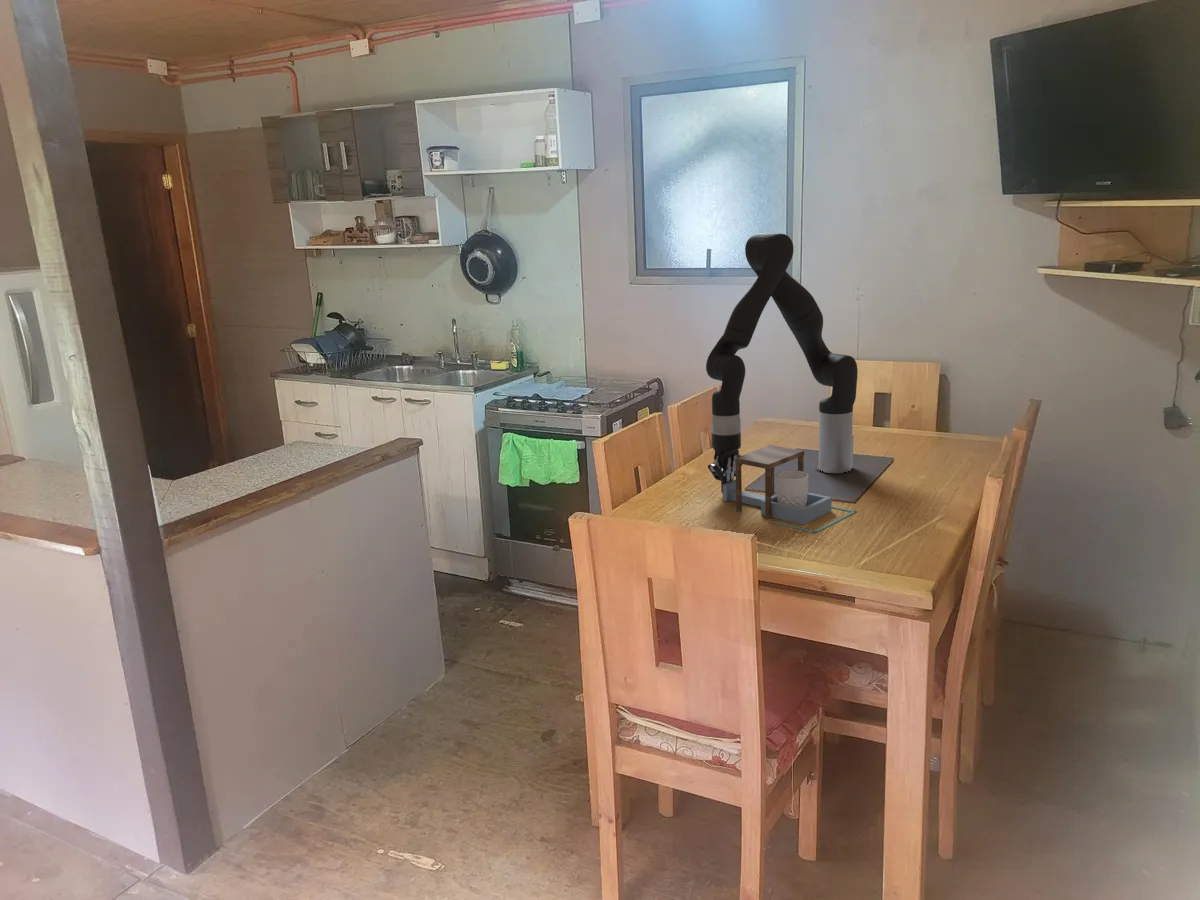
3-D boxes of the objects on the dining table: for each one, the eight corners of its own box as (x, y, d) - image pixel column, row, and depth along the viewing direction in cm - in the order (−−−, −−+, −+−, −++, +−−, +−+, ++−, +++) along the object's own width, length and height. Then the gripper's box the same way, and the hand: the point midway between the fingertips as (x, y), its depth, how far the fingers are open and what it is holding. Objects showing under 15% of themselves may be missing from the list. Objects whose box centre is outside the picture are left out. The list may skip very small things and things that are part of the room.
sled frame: (744, 491, 232) (743, 476, 231) (831, 511, 213) (831, 494, 212) (715, 503, 224) (715, 487, 222) (803, 524, 205) (803, 507, 204)
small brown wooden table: (771, 497, 227) (770, 444, 224) (803, 504, 220) (804, 450, 217) (735, 512, 217) (734, 458, 214) (768, 520, 210) (768, 464, 207)
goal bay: (815, 504, 220) (815, 502, 220) (856, 513, 212) (856, 511, 212) (773, 524, 208) (773, 522, 207) (815, 534, 200) (815, 532, 199)
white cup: (809, 509, 217) (809, 470, 214) (806, 519, 210) (807, 480, 207) (777, 507, 219) (777, 469, 217) (773, 517, 212) (773, 478, 209)
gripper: (721, 437, 217) (722, 503, 221) (753, 427, 225) (753, 490, 230) (698, 433, 222) (699, 497, 227) (730, 423, 231) (731, 485, 235)
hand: (726, 494), depth 228 cm, fingers closed
